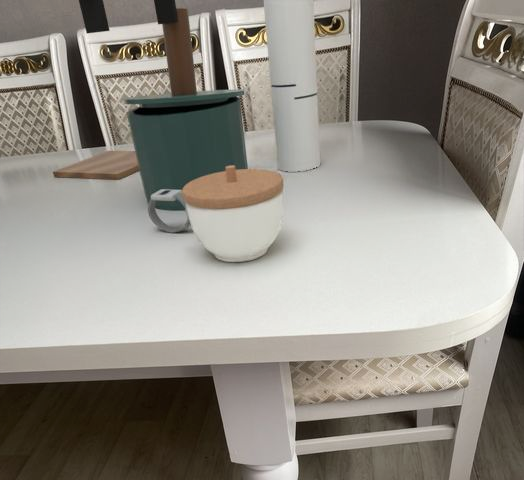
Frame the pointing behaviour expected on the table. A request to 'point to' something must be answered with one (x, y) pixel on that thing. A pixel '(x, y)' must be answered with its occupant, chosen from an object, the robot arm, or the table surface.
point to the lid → (181, 72)
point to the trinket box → (236, 212)
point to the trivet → (102, 166)
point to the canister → (186, 144)
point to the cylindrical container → (293, 82)
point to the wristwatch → (166, 196)
